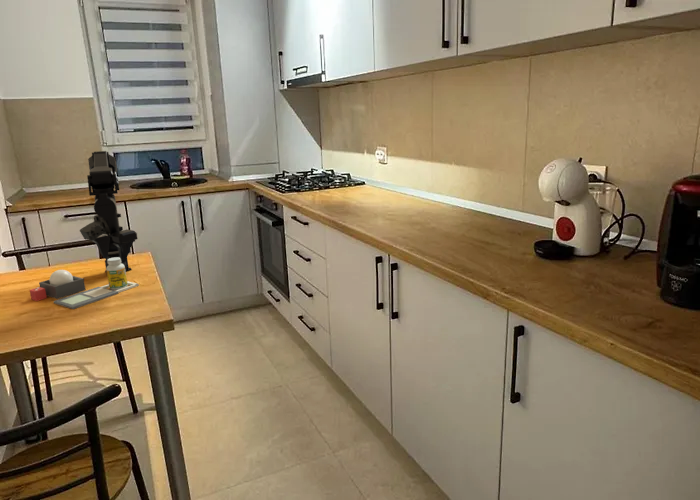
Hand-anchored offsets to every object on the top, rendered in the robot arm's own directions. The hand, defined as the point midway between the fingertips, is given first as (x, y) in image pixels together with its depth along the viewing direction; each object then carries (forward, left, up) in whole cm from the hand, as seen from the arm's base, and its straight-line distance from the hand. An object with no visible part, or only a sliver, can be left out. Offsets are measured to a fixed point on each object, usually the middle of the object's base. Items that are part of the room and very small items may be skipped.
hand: (114, 260), depth 161 cm
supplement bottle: (0, 0, -9) cm, 9 cm away
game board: (+7, 0, -9) cm, 12 cm away
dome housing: (+13, -12, -9) cm, 20 cm away
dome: (+11, -12, -8) cm, 18 cm away
